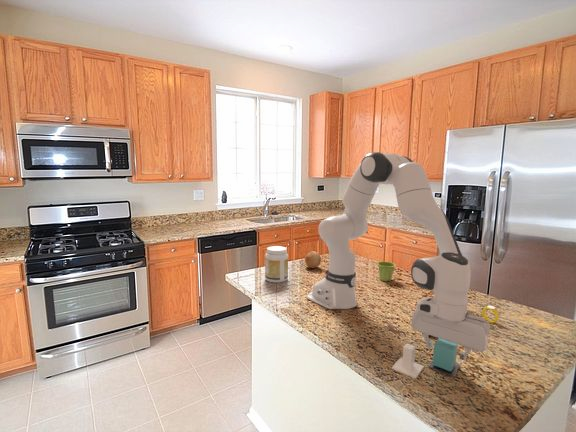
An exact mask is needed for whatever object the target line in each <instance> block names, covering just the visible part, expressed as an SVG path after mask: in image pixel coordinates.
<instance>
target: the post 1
mask: <svg viewBox="0 0 576 432" xmlns="http://www.w3.org/2000/svg"><path fill="white" fill-rule="evenodd" d="M402 349H403V351H402V357H399V359H397V361H396V362H395V363H394V364H393V365H392V367H391V370H394V371H395V372H398V373H401V374H402V375H405V376H407V377H409V378H412V379H415V380H416V379H417V378H418V377H419V375H420V374H421V372H422V371H423V370H424V369H425V366H424V365H422V364H419V363H416V362H415V360H416V359H415V358H416V346H415V345H412V344H411V343H408V342H407V343H405V344H404V345H403V348H402Z"/></svg>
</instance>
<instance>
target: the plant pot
mask: <svg viewBox="0 0 576 432" xmlns="http://www.w3.org/2000/svg"><path fill="white" fill-rule="evenodd" d="M376 265H377V267H378V278H379V280H380V281H383V282H391V281H392V278H393V272H394V271H395V270H394V269H395V267H396V266H397V265H396V264H395V263H394V262H391V261H378V262H377V264H376Z"/></svg>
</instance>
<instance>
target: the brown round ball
mask: <svg viewBox="0 0 576 432" xmlns="http://www.w3.org/2000/svg"><path fill="white" fill-rule="evenodd" d="M304 263H305V265H306V266H307V267H308V268H311V269H315V268H318V267H319V266H321V263H322V257H321V255H320V254H319V252H317V251H315V250H311V251H309V252H308V253H307V254H306V255H305V257H304Z"/></svg>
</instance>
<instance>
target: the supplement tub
mask: <svg viewBox="0 0 576 432" xmlns="http://www.w3.org/2000/svg"><path fill="white" fill-rule="evenodd" d="M287 249H288V248H287V247H285V246H281V245H274V246H268V247H266V253H265V254H264V274H265V275H264V279H265V280H266V281H267V282H270V283H275V284H276V283H284V282H286V281H287V280H288V278H289V253H287V252H288V250H287Z"/></svg>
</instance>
